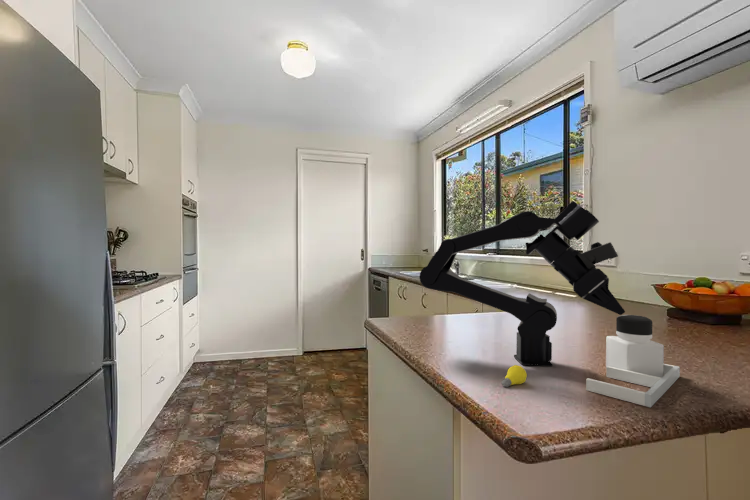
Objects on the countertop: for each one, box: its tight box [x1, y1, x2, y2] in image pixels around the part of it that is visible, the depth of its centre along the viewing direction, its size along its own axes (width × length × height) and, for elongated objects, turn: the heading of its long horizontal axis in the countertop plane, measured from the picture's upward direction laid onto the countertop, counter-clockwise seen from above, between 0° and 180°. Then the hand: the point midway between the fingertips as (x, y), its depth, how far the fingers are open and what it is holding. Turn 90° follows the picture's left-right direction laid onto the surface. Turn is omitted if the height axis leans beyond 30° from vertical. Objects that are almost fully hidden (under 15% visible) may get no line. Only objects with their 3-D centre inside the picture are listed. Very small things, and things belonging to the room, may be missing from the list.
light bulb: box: [501, 364, 528, 388], centre depth 70 cm, size 3×6×4 cm, turn 124°
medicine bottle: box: [605, 314, 665, 378], centre depth 76 cm, size 7×7×12 cm
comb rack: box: [585, 363, 681, 408], centre depth 71 cm, size 22×10×2 cm, turn 131°
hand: (619, 310), depth 77 cm, fingers open, 9 cm apart
